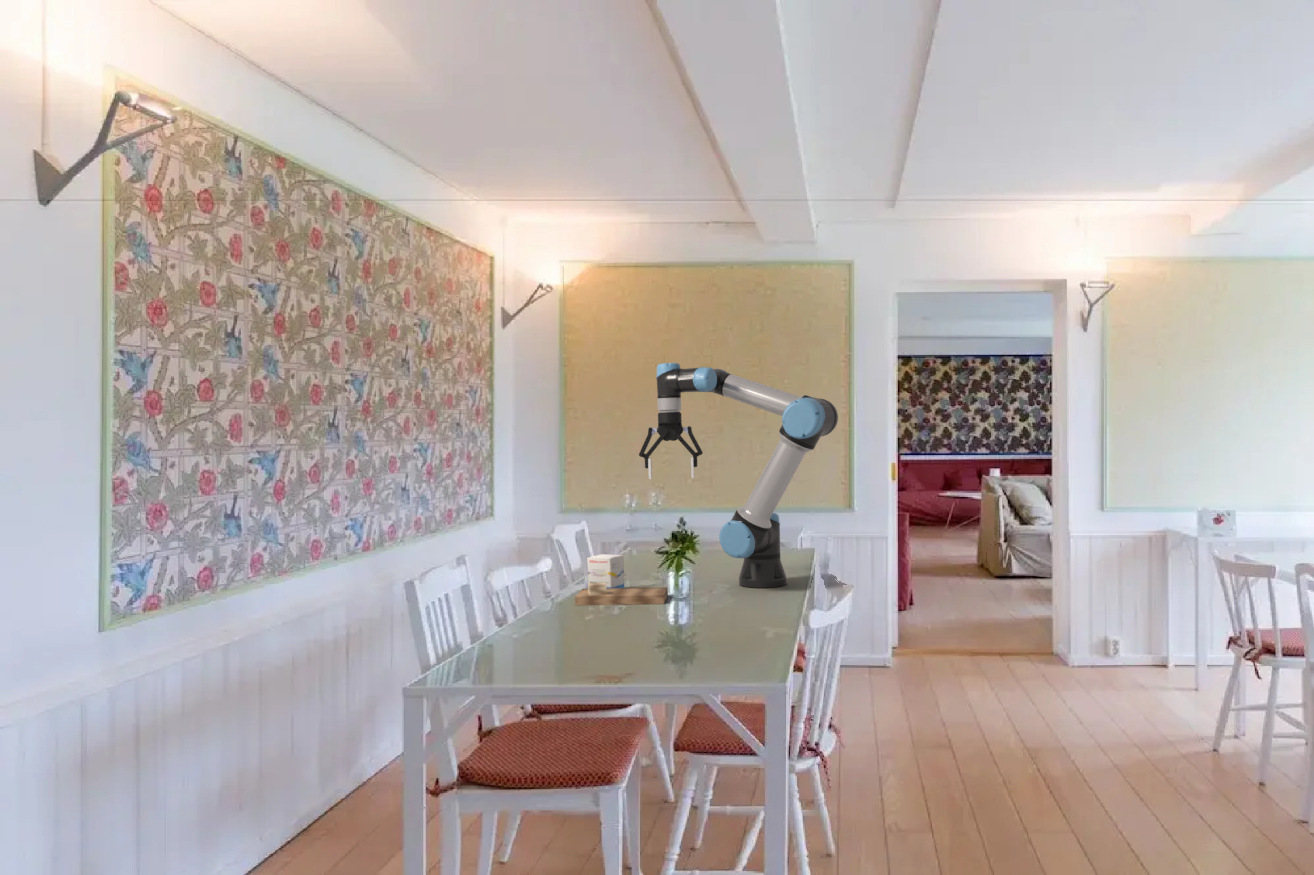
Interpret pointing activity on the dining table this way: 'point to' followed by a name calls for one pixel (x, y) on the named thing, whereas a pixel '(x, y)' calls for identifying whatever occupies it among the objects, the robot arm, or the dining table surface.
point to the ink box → (606, 570)
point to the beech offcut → (597, 588)
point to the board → (624, 596)
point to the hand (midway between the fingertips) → (671, 478)
